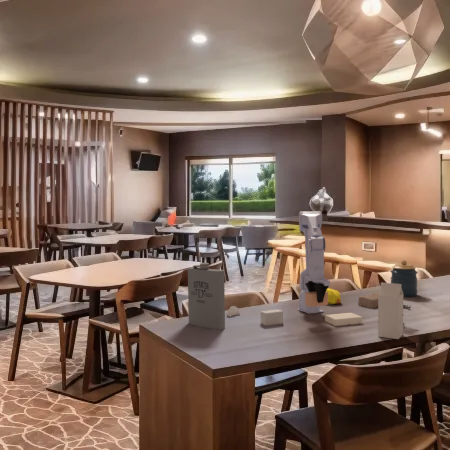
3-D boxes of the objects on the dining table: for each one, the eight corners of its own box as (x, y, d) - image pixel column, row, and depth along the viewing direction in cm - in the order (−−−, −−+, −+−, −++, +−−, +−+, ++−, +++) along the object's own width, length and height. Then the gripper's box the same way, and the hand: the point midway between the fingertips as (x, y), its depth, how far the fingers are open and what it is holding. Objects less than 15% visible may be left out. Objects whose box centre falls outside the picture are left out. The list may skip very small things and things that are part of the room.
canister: (395, 291, 264) (395, 258, 263) (420, 294, 257) (420, 259, 256) (387, 295, 254) (387, 260, 253) (413, 298, 246) (413, 262, 245)
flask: (185, 323, 201) (184, 261, 200) (193, 321, 205) (192, 260, 204) (219, 330, 191) (218, 264, 189) (226, 327, 194) (225, 263, 193)
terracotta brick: (305, 305, 200) (305, 292, 199) (322, 303, 203) (322, 290, 203) (311, 306, 196) (310, 294, 196) (328, 304, 199) (327, 292, 199)
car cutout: (234, 313, 220) (234, 303, 220) (244, 316, 214) (244, 306, 214) (206, 319, 211) (206, 308, 211) (215, 322, 206) (215, 311, 205)
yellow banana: (334, 306, 231) (345, 304, 235) (334, 292, 231) (345, 290, 235) (306, 300, 245) (317, 298, 250) (306, 286, 245) (317, 285, 250)
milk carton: (398, 339, 175) (398, 285, 174) (378, 337, 178) (378, 284, 177) (403, 335, 181) (403, 282, 180) (383, 332, 184) (383, 281, 184)
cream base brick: (325, 322, 202) (325, 314, 202) (351, 319, 206) (351, 312, 206) (335, 327, 195) (335, 319, 195) (362, 324, 198) (362, 316, 198)
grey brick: (260, 323, 200) (260, 311, 200) (277, 321, 204) (277, 309, 203) (265, 325, 197) (265, 313, 196) (283, 323, 200) (283, 311, 200)
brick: (372, 308, 225) (372, 298, 225) (357, 305, 232) (357, 295, 232) (393, 304, 235) (393, 294, 235) (378, 301, 242) (378, 291, 242)
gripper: (298, 265, 204) (298, 298, 204) (319, 270, 190) (319, 305, 191) (312, 264, 207) (312, 297, 207) (334, 268, 193) (334, 303, 194)
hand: (316, 301), depth 199 cm, fingers closed on terracotta brick, 4 cm apart
